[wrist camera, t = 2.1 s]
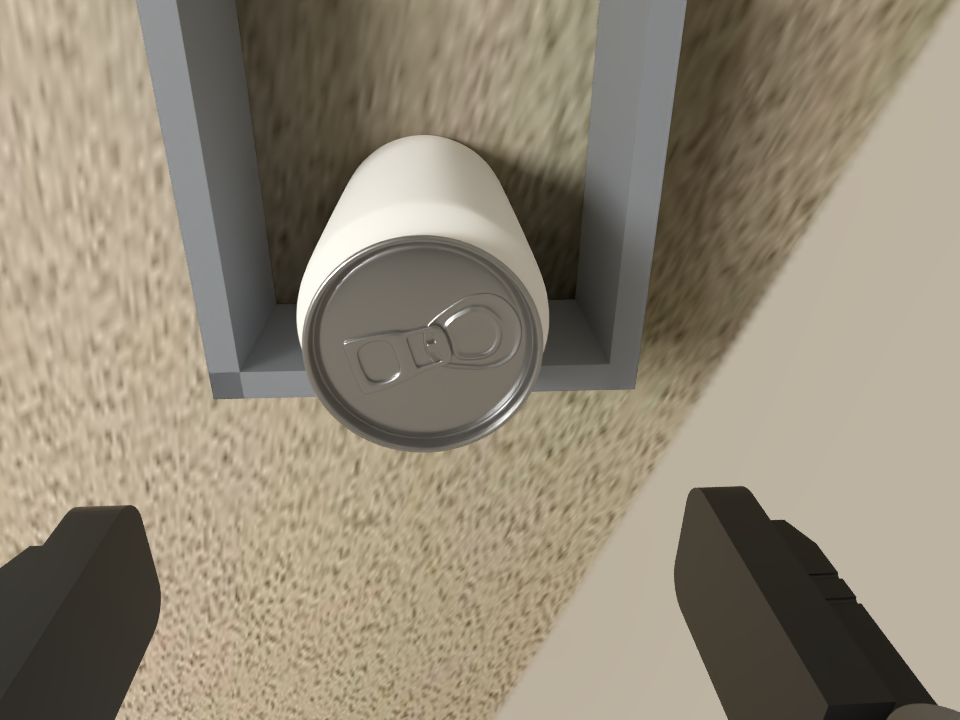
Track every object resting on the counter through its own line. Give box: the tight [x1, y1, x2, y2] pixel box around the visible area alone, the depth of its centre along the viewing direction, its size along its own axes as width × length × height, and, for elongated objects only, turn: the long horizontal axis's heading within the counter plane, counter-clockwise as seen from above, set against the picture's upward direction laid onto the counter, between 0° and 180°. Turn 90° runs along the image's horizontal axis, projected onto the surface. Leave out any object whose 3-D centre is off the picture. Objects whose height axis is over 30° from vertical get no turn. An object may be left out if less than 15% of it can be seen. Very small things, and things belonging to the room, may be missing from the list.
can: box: [296, 135, 549, 452], centre depth 21 cm, size 6×6×12 cm
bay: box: [136, 0, 687, 399], centre depth 22 cm, size 14×14×6 cm
